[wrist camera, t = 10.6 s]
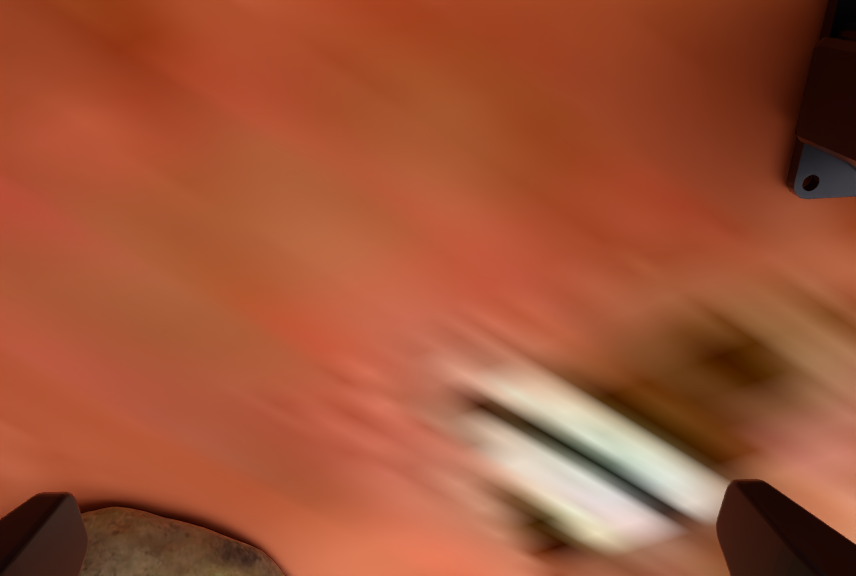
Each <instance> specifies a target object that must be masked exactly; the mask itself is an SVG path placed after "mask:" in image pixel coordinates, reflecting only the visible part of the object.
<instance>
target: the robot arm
mask: <svg viewBox="0 0 856 576" xmlns="http://www.w3.org/2000/svg"><path fill="white" fill-rule="evenodd" d="M795 134H796V136H797V139H796V144H795V148H794V152H793V157H792V161H791V165H790V169H789V174H788V178H787V187H788V189H789V191H790V192H792V193H793V194H795V195H797V196H798V197H800V198H804V199H815V198H833V197H852V196H856V0H829V1H828V5H827V9H826V14H825V18H824V22H823V27H822V31H821V35H820V40H819V43H818V44H817V45H816V46H815V48H814V52H813V56H812V60H811V65H810V69H809V73H808V78H807V82H806V86H805V91H804V95H803V100H802V104H801V108H800V113H799V117H798V121H797V126H796V130H795ZM810 175H812V179H811V181H810V183H809V184H807V185H806V186H804V187H802V183H803V181H804V179H805V178H807V177H808V176H810ZM716 531H717V537H718V540H719V543H720V546H721V549H722V552H723V555H724V558H725V561H726V564H727V567H728V570H729V573H730V576H856V544H854V543H853V542H851V541H850V540H849V539H847V538H846V537H844V536H843V535H841V534H840V533H839V532H837V531H836V530H834V529H833V528H831V527H830V526H828V525H827V524H826V523H824V522H823V521H821V520H820V519H818V518H817V517H816V516H814V515H813V514H811V513H810V512H808V511H807V510H805V509H804V508H803V507H801V506H800V505H798V504H797V503H795V502H794V501H793V500H791V499H790V498H788V497H787V496H785V495H784V494H782V493H781V492H780V491H778V490H777V489H775V488H774V487H772V486H771V485H770V484H768V483H766V482H765V481H762V480H758V479H742V480H733V481H731V482H730V483H729V484H728V486H727V489H726V492H725V495H724V499H723V502H722V505H721V508H720V512H719V515H718V518H717V523H716ZM87 548H88V534H87V530H86V527H85V524H84V521H83V518H82V516H81V513H80V510H79V507H78V504H77V501H76V499H75V497H74V496H73V495H72V494H71V493H68V492H43V493H39V494H36V495H35V496H33V497H31V498H30V499H28V500H27V501H26V502H24V503H23V504H21V505H20V506H19V507H17V508H16V509H14V510H13V511H12V512H10V513H9V514H7V515H6V516H5V517H3V518H2V519H0V576H79V574H80V571H81V568H82V565H83V562H84V559H85V556H86V553H87Z"/></svg>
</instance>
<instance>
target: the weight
mask: <svg viewBox="0 0 856 576" xmlns="http://www.w3.org/2000/svg"><path fill="white" fill-rule="evenodd" d="M81 516H82V518H83V521H84V524H85V527H86V530H87V534H88V548H87V553H86V556H85V559H84V562H83V565H82V568H81V571H80V574H79V576H285V575H284V573H283V572H282V571H281V570H280V568H279V567H278V566H277V565H276V564H275V563H274V561H273V560H272V559H271V558H270V557H268V556H267V555H266V554H265V553H264V552H263V551H261V550H259V549H257V548H255V547H253V546H251V545H249V544H246V543H243V542H240V541H237V540H234V539H232V538H229V537H227V536H224V535H221V534H219V533H217V532H215V531H212V530H209V529H207V528H204V527H200V526H197V525H193V524H190V523H186V522H182V521H179V520H174V519H170V518H164V517H161V516H158V515H155V514H152V513H149V512H145V511H141V510H136V509H132V508H125V507H107V508H103V509H99V510H94V511H88V512H85V513H82V514H81Z"/></svg>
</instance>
